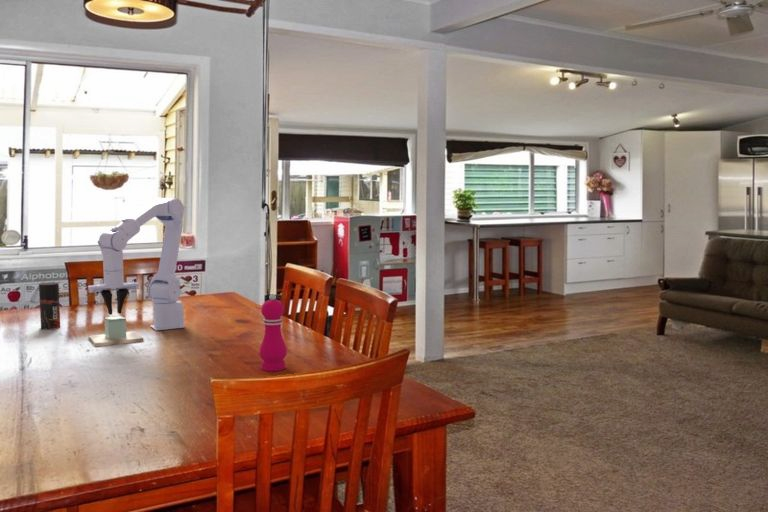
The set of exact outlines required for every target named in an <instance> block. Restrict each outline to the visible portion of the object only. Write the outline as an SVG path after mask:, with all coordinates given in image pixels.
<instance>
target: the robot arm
mask: <svg viewBox="0 0 768 512" xmlns="http://www.w3.org/2000/svg"><path fill="white" fill-rule="evenodd" d="M185 207H186V206H184V204H183V202H182V201H181V199H179V198H177V197H173V198H172V197H171V198H169V197H166V198H165V197H154V198H152V200H149V201H147V205H146V206H145V207H144V208H142V209H141V211H139V212H138V213H137V214H136V215H135V216H134V217H133V218H132V217H127V218H126V217H124V218H122V219H121V222H119V223H118V224H117V225H116V226H112V228H111V229H110V230H109V231H104V232H103V233H102V234H101V235H100V236H99V238H98V240H97V245H98V247H99V249H100V251H101V254H102V265H103V267H102V268H103V269H102V270H103V283H100V284H95V285H93V284H92V285H88V293H91V294H93V293H97V292H98V293H100V295H101V297H102V298H103V300H104V302H105V305H106V308H107V312H108V315H113V305H112V304H113V303H112V302H113V299H112V298H113V294H112V291H113V292H114V291H116V301H117V304H116V305H117V306H116V307H117V308H116V309H117V310H116V312H117V314H118V315H119V314H122V310H123V306H124V303H125V300H126V298H127V296H128V294H129V291H128V290H139V289H140V283H139V282H124V281H125V278H124V277H125V276H124V253H123V251H124V249H126V248H127V244H128V242H129V241H130V240H132V238H133V237H135V236H136V235H137V234H138V233H140V230H141V226H143V225H145V224H147V222H149V221H151V220H152V219H154V218H156V219H157V220H158V221H160V222H161V224H163V225H164V234H163V241H162V246H161V252H160V253H161V254H160V258H159V265H158V271H157V272H156V273H155V274H154V275H153V276H152V277H151V281H150V283H149V285H148V287H147V296H148V297H149V299H150V300H151V303H152V309H153V310H152V311H153V324H151V325H150V327H151V328H152V329H153V330H155V331H162V330H163V331H164V330H173V329H183V328H185V326H184V325H185V324H184V323H185V322H184V306H183V302H182V301H181V300H178V299H179V298H180V295H181V287H180V285H181V280H180V278H179V277H177V276H176V269H177V263H178V258H179V257H178V256H179V250H180V244H181V238H182V232H183V225H184V222H183V221H184V220H183V219H184V213H185Z"/></svg>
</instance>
